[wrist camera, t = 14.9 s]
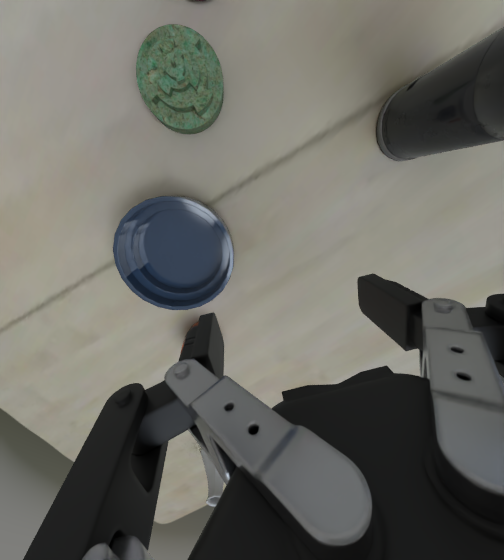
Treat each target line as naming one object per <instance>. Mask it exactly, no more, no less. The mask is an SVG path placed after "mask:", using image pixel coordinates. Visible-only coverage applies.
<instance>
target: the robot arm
mask: <svg viewBox="0 0 504 560" xmlns="http://www.w3.org/2000/svg"><path fill="white" fill-rule="evenodd" d="M427 72H428V71H427ZM424 74H425V73H424ZM421 76H422V75H421ZM421 76H420V78H419V77H418V78H419V79H418V78H417V80H416V79H415V80H414V82H411V83H410V84H408V85H406V86H404V87H402V88H401V89H399V90H398V91H396V92H395V93H394V94H393V95H392V96H391V97H390V98H389V99H388V100H387V102H386V103H385V105H384V106H383V108H382V110H381V112H380V115H379V118H378V123H377V139H378V143H379V146H380V148H381V149H382V151H383V152H384V153H385V154H386V155H387V156H388V157H389V158H391V159H394V160H398V161H405V160H410V159H414V158H417V157H421V156H427V155H432V154H437V153H442V152H447V151H452V150H457V149H462V148H467V147H473V146H478V145H483V144H488V143H493V142H498V141H503V140H504V27H503V28H501V29H499V30H498V31H496V32H494V33H493V34H491V35H489V36H488V37H486V38H484V39H483V40H481V41H480V42H478V43H476V44H475V45H473V46H471V47H470V48H468V49H466V50H465V51H463V52H461V53H460V54H458V55H457V56H455V57H453V58H452V59H450V60H448V61H447V62H445V63H443V64H442V65H440V66H438V67H437V68H435V69H434V70H432V71H430V72H429V73H427V74H425V75H424V76H422V77H421ZM358 299H359V306H360V309H361V311H362V312H363V314H364V315H366V316H367V317H368V318H369V319H370V320H371V321H372V322H374V323H375V324H376V325H377V326H378V327H379V328H380V329H381V330H383V331H384V332H385V333H386V334H387V335H388V336H389V337H391V338H392V339H393V340H394V341H395V342H396V343H397V344H398V345H400V346H401V347H402V348H403V349H404V350H405V351H409V350H413V349H417V348H418V349H419V364H420V376H415V375H409V374H398V373H393V372H392V371H391V370H390V369H389V368H388V366H383V367H379V368H375V369H371V370H367V371H363V372H360V373H358V374H356V375H354V376H352V377H351V378H349V379H347V380H345V381H343V382H341V383H339V384H333V385H307V386H303V387H299V388H295V389H291V390H287V391H283V392H282V395H283V400H284V401H282V402H280V403H279V404H277V405H276V406H274V407H273V408H272V409H271V408H270V407H268V406H267V405H266V404H264V403H263V402H262V401H260V400H259V399H258V398H256V397H255V396H254V395H252V394H251V393H250V392H248V391H247V390H245V389H244V388H243V387H241V386H240V385H239V384H237V383H236V382H235V381H233V380H232V379H231V378H229V377H228V376H223V371H224V342H223V337H222V334H221V331H220V328H219V325H218V322H217V318H216V315H215V313H214V312H213V313H209V314H205V315H201V316H200V318H199V323H198V325H197V326H193V327H192V328H191V329H190V330H189V331H188V333H187V335H186V338H185V342H184V346H183V348H182V352H181V355H180V358H179V362H177V363H176V364H174V365H173V366H172V367H171V368H169V370H168V371H167V372H166V374H165V380H164V381H163V382H161V383H159V384H157V385H155V386H153V387H151V388H149V389H146V390H144V388H143V386H142V385H141V384H139V383H133V384H129V385H127V386H124V387H123V388H121V389H119V390H118V391H116V392H115V393H114V394H113V395H112V396H111V397H110V398H109V399H108V400H107V402H106V403H105V405H104V407H103V409H102V411H101V413H100V415H99V417H98V419H97V420H96V422H95V424H94V426H93V428H92V430H91V432H90V434H89V436H88V437H87V439H86V441H85V443H84V445H83V447H82V449H81V451H80V453H79V454H78V456H77V458H76V460H75V462H74V464H73V466H72V468H71V470H70V472H69V474H68V475H67V478H66V480H65V481H64V483H63V485H62V487H61V489H60V491H59V492H58V494H57V496H56V498H55V500H54V502H53V504H52V506H51V508H50V510H49V511H48V513H47V515H46V517H45V519H44V521H43V523H42V525H41V527H40V528H39V530H38V532H37V534H36V536H35V538H34V540H33V542H32V543H31V545H30V547H29V549H28V551H27V553H26V555H25V557H24V559H23V560H154V559H153V557H152V556H151V555H150V553H149V552H148V547H149V542H150V536H151V531H152V526H153V520H154V515H155V510H156V504H157V499H158V494H159V488H160V483H161V478H162V472H163V467H164V462H165V456H166V451H167V446H168V441H169V440H170V439H172V438H174V437H176V436H177V435H179V434H181V433H183V432H184V431H186V430H188V431H189V432H190V433H191V435H192V436H193V437H194V439H195V440H196V441H197V443H198V444H199V445H200V447H201V448H202V449H203V451H204V452H205V453H206V455H207V456H208V457H209V459H210V460H211V461H212V463H213V464H214V466H215V468H216V470H217V471H218V473H219V475H220V476H221V478H222V479H223V481H224V482H225V484H226V485H227V486H226V488H225V489H224V491H223V493H222V495H221V497H220V499H219V501H218V503H217V505H216V507H215V508H214V511H213V512H212V515H211V516H210V518H209V520H208V522H207V524H206V526H205V528H204V530H203V531H202V533H201V535H200V537H199V539H198V541H197V543H196V545H195V547H194V548H193V550H192V552H191V554H190V556H189V558H188V560H504V385H503V382H502V380H501V377H500V375H501V376H503V377H504V294H495V295H491V296H489V297H488V298H487V301H486V307H476V308H466V307H465V306H464V305H463V304H461V303H459V302H457V301H454V300H450V299H444V298H433V299H427V298H425V297H423V296H422V295H420V294H418V293H416V292H414V291H412V290H411V291H410V289H408V288H406V287H404V286H402V285H400V284H399V283H397V282H393V281H389V280H385V279H383V278H381V277H379V276H377V275H375V274H369V275H365V276H361V277H359V278H358ZM499 374H500V375H499Z"/></svg>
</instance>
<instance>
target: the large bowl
mask: <svg viewBox="0 0 504 560" xmlns="http://www.w3.org/2000/svg"><path fill="white" fill-rule="evenodd" d="M113 252H114V258H115V264H116V267H117V269H118V271H119V273H120V275H121V278H122V279H123V281H124V282H125V283H126V284H127V286H128V287H129V288H130V289H131V291H133V292H134V293H135V294H136V295H138V296H139V297H140V298H142V299H143V300H144V301H147V302H149V303H151V304H153V305H155V306H158V307H161V308H166V309H170V310H188V309H192V308H196V307H200V306H202V305H204V304H206V303H208V302H210V301H211V300H213V299H214V298H215V297H216V296H217V295H218V294H219V293H220V292H222V291H223V289H224V287H225V286H226V284H227V283H228V281H229V279H230V276H231V273H232V269H233V264H234V250H233V243H232V239H231V235H230V232H229V230H228V228H227V226H226V225H225V223H224V221H223V220H222V218H221V217H220V216H219V215H218V214H217V213H216V212H215V211H214V210H213V209H212V208H210V207H208V206H207V205H205V204H204V203H202V202H201V201H198V200H195V199H192V198H188V197H185V196H160V197H156V198H152V199H148V200H145V201H143V202H142V203H140V204H138V205H136V206H135V207H133V208H132V209H131V210H130V211H129V212H128V213H127V214H126V215H125V216H124V217H123V218H122V220H121V221H120V224H119V226H118V228H117V230H116V233H115V237H114V245H113Z"/></svg>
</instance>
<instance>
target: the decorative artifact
mask: <svg viewBox="0 0 504 560" xmlns="http://www.w3.org/2000/svg"><path fill="white" fill-rule="evenodd" d="M136 76H137V83H138V87H139V90H140V93H141V95H142V98H143V100H144V101H145V103H146V105H147V106H148V108H149V109H150V110H151V112H152V113H153V114H154V115H155V116H156V117H157V118H158V119H159V120H160V121H161V122H162V123H163V124H164V125H165V126H167V127H168V128H170V129H171V130H173V131H176V132H178V133H182V134H195V133H199V132H202V131H204V130H205V129H207V128H208V127H209V126H211V125H212V124H213V122H214V121H215V120H216V118H217V117H218V115H219V113H220V110H221V107H222V103H223V76H222V70H221V66H220V63H219V60H218V58H217V56H216V54H215V52H214V50H213V49H212V47H211V46H210V44H209V43H208V42H207V41H206V40H205V39H204V38H203V37H202V36H201V35H200V34H199V33H197V32H196V31H194V30H192V29H191V28H188V27H186V26H182V25H175V24H171V25H165V26H162V27H159V28H157V29H156V30H154V31H153V32H151V33H150V34H149V35H148V36H147V38H146V39H145V40H144V42H143V44H142V46H141V48H140V50H139V53H138V57H137V63H136Z"/></svg>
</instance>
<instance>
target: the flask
mask: <svg viewBox="0 0 504 560" xmlns="http://www.w3.org/2000/svg"><path fill="white" fill-rule="evenodd" d="M201 455H202V459H203V462H204V466H205V470H206V475H207V479H208V489H209V490H208V498H207V500H206V503H207V504H208V505H210V506H216V505H217V503H218V501H219V499H220V497H221V495H222V493H223V483H224V481H223V479H222V478H221V476H220V475H219V473H218V471H217V470H216V468H215V466H214V464H213V463H212V461H211V460H210V459H209V457H208V456H207V455H206V453H205V452H204V451H203V449H201Z"/></svg>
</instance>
